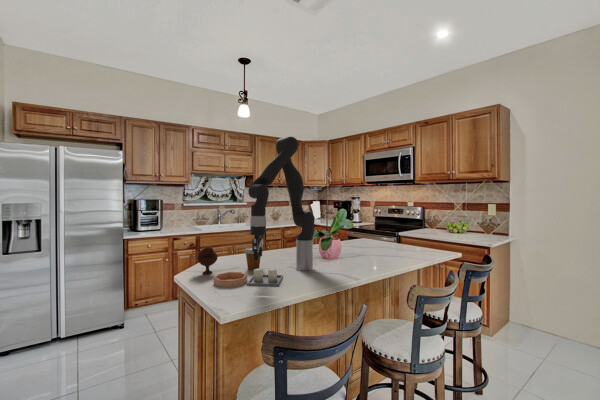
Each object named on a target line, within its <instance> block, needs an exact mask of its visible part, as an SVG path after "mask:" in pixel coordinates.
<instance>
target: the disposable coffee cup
mask: <svg viewBox="0 0 600 400" xmlns="http://www.w3.org/2000/svg"><path fill="white" fill-rule="evenodd" d="M255 249H256V248H255ZM244 252H245V256H246V264H247V266H246V267H247V270H248V271H254V269H260V264H261V257H262V256H259V258H258V260H254V252H252V246H251V247H246V248H245V250H244Z"/></svg>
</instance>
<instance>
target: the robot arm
mask: <svg viewBox="0 0 600 400" xmlns="http://www.w3.org/2000/svg"><path fill="white" fill-rule="evenodd" d="M275 148H276V153H277V156H276V157H275V158H274V159H272V161H270V162H269V163H268V164H267V165H266V166H265V168H264V169H263V171H262V172H261V173H260V175H259V176H258V177H257V178H256V179H255V180H254V181H253V182H252V183H251V184H250V185H249V188H248V196H249V197H250V198H252V199H255V202H254V203H253V204H251V206H250V224H249V225H250V235H251V236H254V237H253V238H252V240H251V242H252V243H251V245H252V246H251V247H252V252H254V260H258V258H259V256H261V257H263V249H264V246H265V245H264V237H265V235H266V234H267V218H266V206H267V203H268V200H269V196H270V195H269V193H270V192H269V190H270V189H269V188H268V186H270V185H272V184H273V182H274V181H275V179H276V178H277V176H278V174H279V173H280V172H281V170H282V171H283V174H284V178H285V179H284V181H285V183H286V190H287V192H288V196H289V201H290V205H291V211H292V221H293V223H294V225H295V226H296V227H298V228H301V232H299V233H297V234H296V238H295V239H296V244H295V245H296V250H295V251H296V261H295V262H296V265H295V266H296V267H295V268H296V270H297V272H311V271H313V265H314V264H313V261H314V259H313V256H314V254H313V245H314V244H313V242H314V239H313V237H314V235H315V234H314V233H315V216H314V214H313V212H312V211H306V210H303V209H304V208H303V203H302V199H303V195H304V192H305V186H304V181H303V176H302V175H301V173H300V171H299V170H298V168H297V167H295V165H294V164H293V160H292V157H293V156H294V155H295V154H296V153H297V151H298V149H299V142H298V140H297V138H296V137H294V136H287V137H286V136H285V137H281V138H279V139H277V140H276V143H275ZM255 248H256V249H255Z"/></svg>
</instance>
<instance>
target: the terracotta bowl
mask: <svg viewBox="0 0 600 400" xmlns="http://www.w3.org/2000/svg"><path fill="white" fill-rule="evenodd" d="M247 282H248V274H247V273H244V272H241V271H228V272H227V271H226V272H221V273H217V274H216V275H215V276H214V277H213V285H216V286H217V287H221V288H234V287H238V286H239V287H240V286H244V284H246V283H247Z"/></svg>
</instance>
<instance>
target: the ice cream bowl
mask: <svg viewBox="0 0 600 400" xmlns="http://www.w3.org/2000/svg"><path fill="white" fill-rule="evenodd" d="M218 257H219V256H218V254H217V252H215V251H214V248H213V247H212V246H210V245H209V246H204V247H203V248H202V249H200V250H199V251H198V254H197V257H196V259H197V262H198V263H199V264H200V265H201V266H202V267H205V270H204V271H202V275H204V276H208V275H212V274H213V270H210V267H211V266H212V265H214V264H215V263H216V262H217V260H218Z"/></svg>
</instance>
